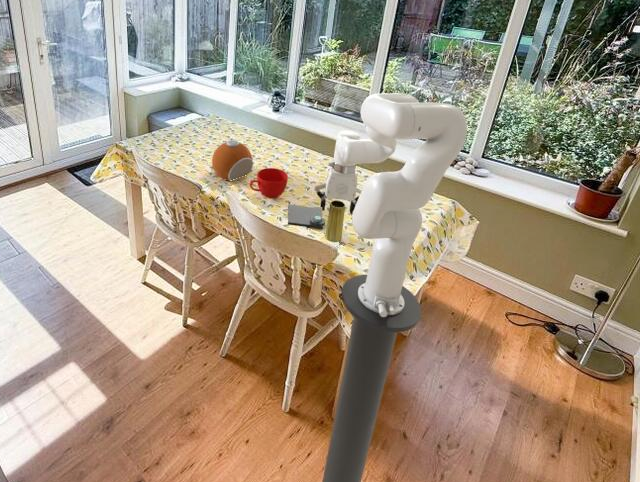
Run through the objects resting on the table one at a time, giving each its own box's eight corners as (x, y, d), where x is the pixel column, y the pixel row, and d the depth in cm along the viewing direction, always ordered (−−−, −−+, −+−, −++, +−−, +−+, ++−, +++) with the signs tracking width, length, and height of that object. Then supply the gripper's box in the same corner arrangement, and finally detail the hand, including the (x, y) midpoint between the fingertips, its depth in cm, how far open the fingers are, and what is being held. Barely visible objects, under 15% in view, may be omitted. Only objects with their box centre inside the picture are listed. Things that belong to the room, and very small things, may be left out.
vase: (343, 242, 147) (349, 208, 141) (326, 242, 146) (331, 208, 141) (339, 232, 152) (344, 199, 147) (322, 232, 152) (327, 199, 147)
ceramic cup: (243, 192, 180) (243, 172, 176) (277, 185, 186) (278, 166, 182) (255, 207, 169) (257, 185, 165) (291, 199, 175) (293, 179, 171)
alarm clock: (236, 163, 207) (237, 131, 200) (259, 177, 194) (260, 143, 187) (204, 173, 196) (204, 140, 190) (226, 188, 183) (227, 153, 177)
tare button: (321, 223, 155) (321, 219, 154) (314, 222, 155) (314, 219, 154) (320, 219, 157) (321, 216, 156) (314, 218, 157) (314, 215, 157)
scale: (324, 230, 154) (325, 224, 153) (287, 225, 156) (288, 220, 155) (322, 210, 167) (323, 205, 166) (288, 206, 170) (289, 201, 169)
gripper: (318, 168, 137) (312, 212, 144) (372, 174, 135) (363, 219, 141) (317, 159, 144) (311, 202, 151) (368, 165, 142) (360, 208, 148)
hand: (336, 210), depth 146 cm, fingers open, 9 cm apart
